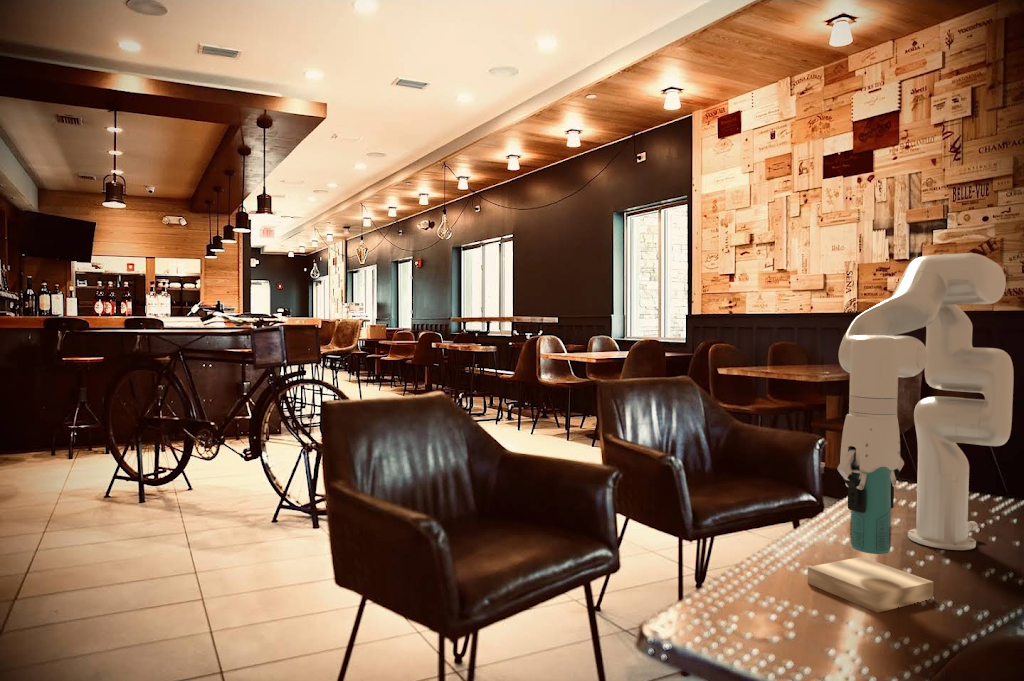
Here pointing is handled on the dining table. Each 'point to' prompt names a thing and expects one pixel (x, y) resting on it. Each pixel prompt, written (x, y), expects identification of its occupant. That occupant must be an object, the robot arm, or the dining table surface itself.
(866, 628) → the dining table surface
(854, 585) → the birch plinth
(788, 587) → the dining table surface
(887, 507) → the beverage bottle
